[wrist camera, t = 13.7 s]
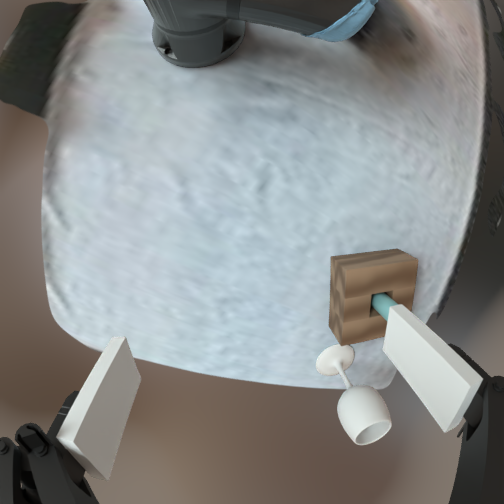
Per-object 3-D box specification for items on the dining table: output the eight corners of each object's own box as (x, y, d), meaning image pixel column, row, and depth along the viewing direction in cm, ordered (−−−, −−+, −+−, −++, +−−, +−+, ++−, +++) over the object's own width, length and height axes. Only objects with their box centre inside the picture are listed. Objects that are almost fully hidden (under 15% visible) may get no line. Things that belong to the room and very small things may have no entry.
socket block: (330, 256, 46) (346, 270, 40) (397, 248, 47) (418, 259, 40) (328, 326, 50) (341, 346, 44) (390, 313, 51) (407, 330, 44)
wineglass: (334, 337, 51) (378, 411, 31) (361, 352, 53) (406, 419, 33) (307, 367, 53) (337, 445, 33) (335, 379, 55) (369, 450, 35)
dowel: (363, 286, 46) (398, 318, 35) (378, 282, 47) (415, 312, 35) (362, 301, 47) (395, 336, 36) (376, 298, 47) (411, 330, 36)
